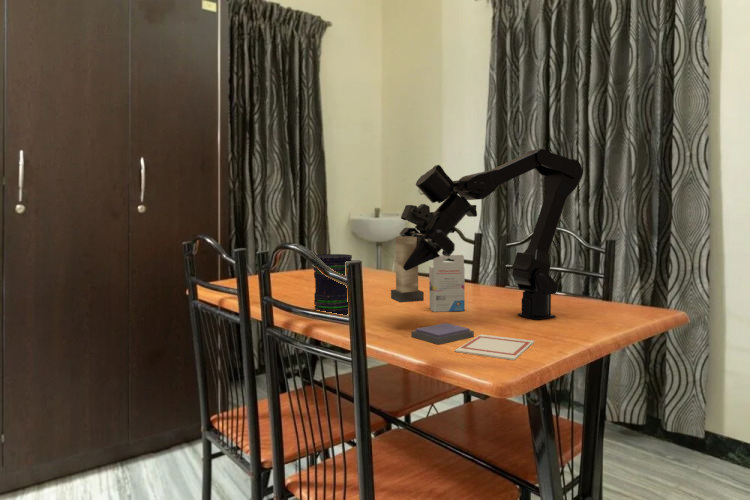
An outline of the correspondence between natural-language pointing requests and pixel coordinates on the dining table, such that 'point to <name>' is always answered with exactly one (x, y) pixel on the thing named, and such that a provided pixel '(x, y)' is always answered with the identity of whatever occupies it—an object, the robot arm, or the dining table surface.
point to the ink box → (447, 284)
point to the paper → (496, 346)
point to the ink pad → (442, 333)
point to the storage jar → (331, 286)
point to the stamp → (406, 272)
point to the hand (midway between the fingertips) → (401, 268)
